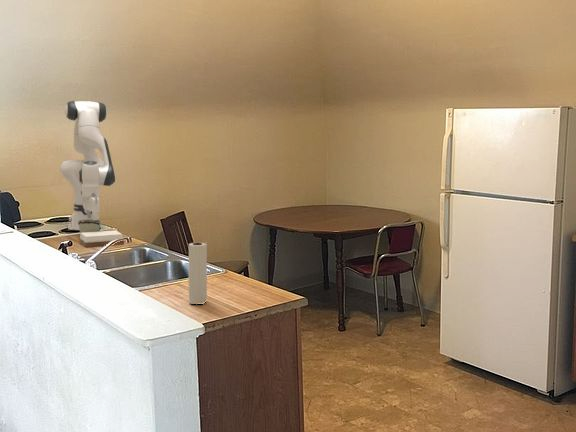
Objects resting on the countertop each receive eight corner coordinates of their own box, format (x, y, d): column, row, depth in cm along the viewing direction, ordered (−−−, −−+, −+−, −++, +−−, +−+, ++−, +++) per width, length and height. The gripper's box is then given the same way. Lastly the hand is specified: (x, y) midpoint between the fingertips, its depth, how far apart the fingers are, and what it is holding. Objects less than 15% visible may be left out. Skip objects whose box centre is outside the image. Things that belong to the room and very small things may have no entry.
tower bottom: (79, 244, 338) (79, 238, 337) (116, 241, 347) (116, 235, 347) (85, 249, 327) (85, 243, 326) (124, 245, 336) (124, 240, 336)
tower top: (80, 238, 337) (80, 232, 337) (115, 236, 346) (115, 230, 346) (85, 242, 327) (85, 236, 327) (122, 240, 336) (122, 234, 335)
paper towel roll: (191, 306, 231) (191, 245, 228) (186, 301, 236) (186, 242, 233) (211, 304, 234) (211, 244, 230) (206, 300, 239) (206, 241, 236)
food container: (105, 238, 352) (105, 219, 350) (101, 240, 346) (100, 221, 344) (82, 237, 353) (82, 218, 351) (78, 239, 347) (77, 220, 345)
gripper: (102, 194, 338) (103, 221, 340) (92, 191, 356) (92, 216, 357) (90, 194, 335) (90, 222, 337) (79, 191, 352) (80, 217, 354)
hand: (91, 219), depth 347 cm, fingers open, 8 cm apart
